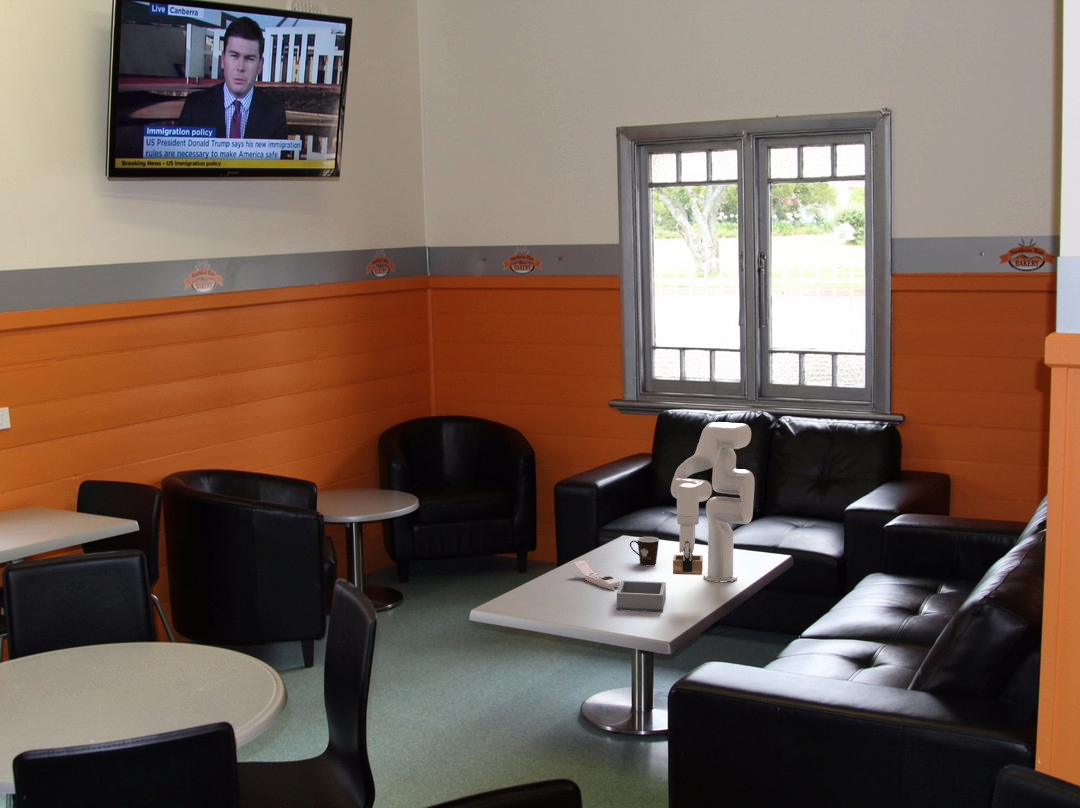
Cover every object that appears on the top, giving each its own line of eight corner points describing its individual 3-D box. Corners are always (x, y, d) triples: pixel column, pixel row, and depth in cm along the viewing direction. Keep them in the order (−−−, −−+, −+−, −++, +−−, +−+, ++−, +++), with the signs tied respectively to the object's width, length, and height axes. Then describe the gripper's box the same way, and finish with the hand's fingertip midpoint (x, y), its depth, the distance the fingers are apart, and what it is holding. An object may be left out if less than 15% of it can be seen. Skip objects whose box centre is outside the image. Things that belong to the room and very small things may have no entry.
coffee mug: (663, 564, 458) (663, 540, 457) (646, 567, 453) (646, 543, 452) (644, 558, 468) (644, 534, 466) (628, 561, 463) (628, 537, 462)
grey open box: (621, 596, 415) (621, 580, 415) (665, 598, 413) (665, 582, 412) (616, 609, 400) (616, 593, 399) (662, 612, 397) (662, 595, 396)
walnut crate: (674, 568, 407) (674, 554, 406) (702, 569, 405) (702, 555, 404) (672, 574, 400) (672, 560, 399) (701, 575, 398) (701, 561, 397)
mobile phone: (585, 559, 445) (624, 573, 424) (585, 574, 446) (624, 589, 425) (572, 562, 442) (611, 576, 421) (572, 577, 443) (611, 592, 422)
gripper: (678, 512, 409) (678, 560, 411) (675, 525, 392) (675, 575, 394) (699, 513, 407) (699, 561, 410) (697, 525, 390) (697, 576, 393)
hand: (687, 567), depth 402 cm, fingers closed on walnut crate, 7 cm apart
